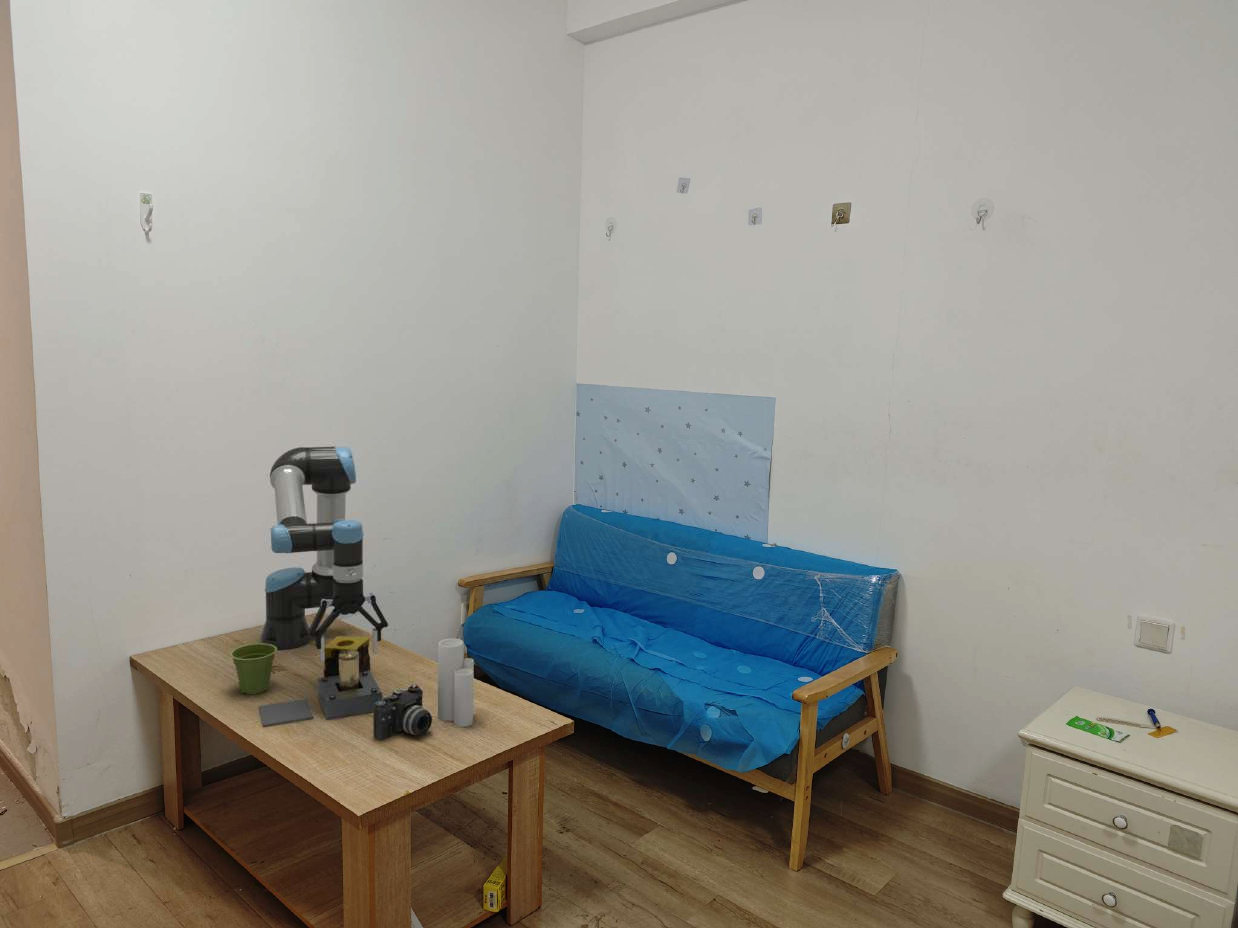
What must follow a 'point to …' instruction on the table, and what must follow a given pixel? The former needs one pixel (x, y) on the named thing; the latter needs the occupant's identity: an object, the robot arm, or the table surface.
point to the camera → (401, 714)
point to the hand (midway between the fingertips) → (349, 656)
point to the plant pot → (254, 666)
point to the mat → (285, 712)
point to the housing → (348, 696)
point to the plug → (348, 670)
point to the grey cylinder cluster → (455, 683)
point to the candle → (343, 645)
